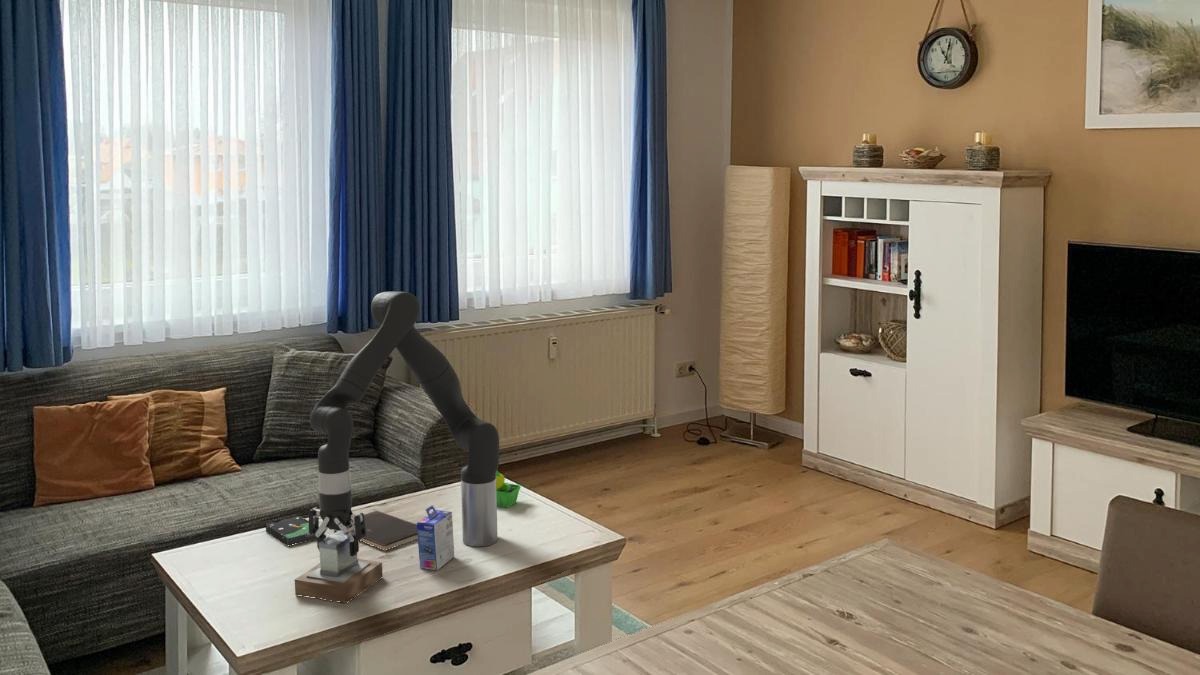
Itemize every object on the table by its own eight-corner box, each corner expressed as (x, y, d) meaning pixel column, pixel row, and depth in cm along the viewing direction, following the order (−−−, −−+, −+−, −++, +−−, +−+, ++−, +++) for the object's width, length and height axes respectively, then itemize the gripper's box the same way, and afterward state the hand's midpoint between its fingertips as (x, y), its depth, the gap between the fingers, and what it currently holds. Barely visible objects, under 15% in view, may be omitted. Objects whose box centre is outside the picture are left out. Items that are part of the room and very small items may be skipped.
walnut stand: (333, 570, 270) (332, 553, 269) (382, 577, 266) (381, 560, 265) (295, 595, 255) (294, 578, 254) (346, 603, 251) (346, 585, 250)
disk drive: (265, 533, 297) (288, 548, 286) (264, 523, 297) (287, 538, 286) (300, 524, 304) (324, 538, 293) (299, 515, 303) (323, 528, 292)
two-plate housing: (320, 574, 256) (318, 542, 255) (341, 561, 264) (339, 529, 263) (337, 577, 255) (336, 545, 253) (358, 563, 263) (356, 532, 261)
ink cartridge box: (436, 554, 280) (434, 500, 278) (455, 556, 279) (453, 502, 276) (417, 568, 271) (415, 513, 269) (437, 571, 269) (435, 515, 267)
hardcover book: (384, 553, 282) (383, 545, 282) (332, 533, 297) (331, 525, 297) (431, 536, 294) (431, 528, 294) (379, 517, 309) (378, 509, 309)
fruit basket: (522, 501, 321) (521, 464, 319) (507, 510, 313) (507, 473, 311) (488, 496, 325) (488, 460, 323) (473, 505, 317) (472, 468, 315)
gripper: (369, 486, 257) (372, 551, 260) (318, 480, 262) (321, 543, 265) (352, 496, 250) (355, 562, 253) (299, 489, 255) (303, 555, 258)
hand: (338, 552), depth 259 cm, fingers open, 8 cm apart
